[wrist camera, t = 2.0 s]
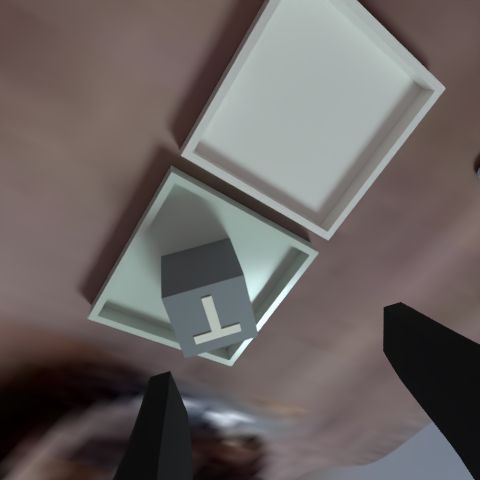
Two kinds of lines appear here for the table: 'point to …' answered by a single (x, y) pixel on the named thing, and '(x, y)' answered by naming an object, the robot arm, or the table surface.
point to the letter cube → (206, 297)
